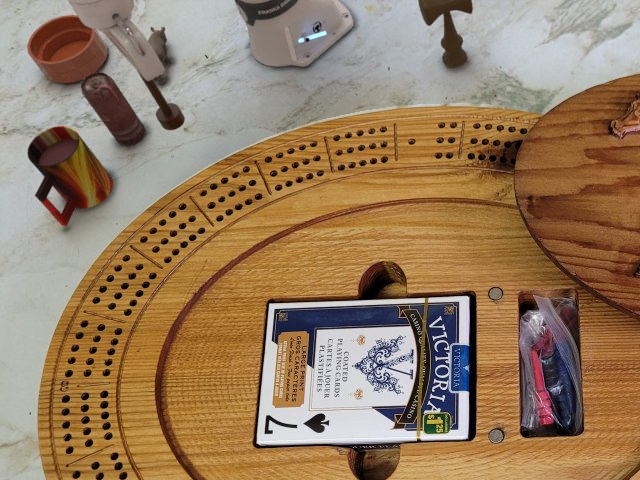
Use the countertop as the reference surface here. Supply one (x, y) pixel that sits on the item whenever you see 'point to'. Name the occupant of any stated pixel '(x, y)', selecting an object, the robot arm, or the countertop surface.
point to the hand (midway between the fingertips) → (143, 69)
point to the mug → (68, 171)
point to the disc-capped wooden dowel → (165, 108)
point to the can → (113, 108)
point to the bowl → (67, 49)
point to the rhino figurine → (159, 48)
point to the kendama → (447, 27)
